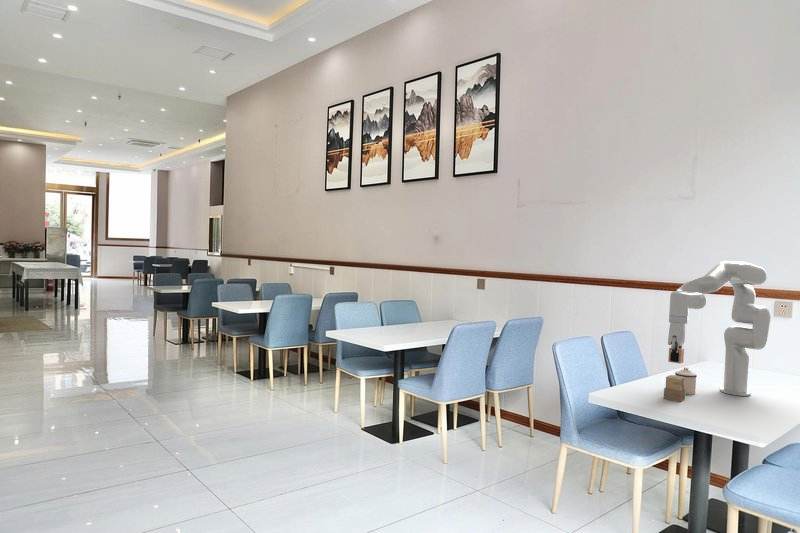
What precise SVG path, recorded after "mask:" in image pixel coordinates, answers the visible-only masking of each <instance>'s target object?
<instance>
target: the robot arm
mask: <svg viewBox="0 0 800 533" xmlns="http://www.w3.org/2000/svg"><path fill="white" fill-rule="evenodd" d="M767 278H768V274H767V271H766V270H765V269H764V267H761V266H760V265H759V266H758V265H755V264H752V263H750V262H746V261H739V260H738V261H737V260H736V261H735V260H734V261H732V260H731V261H730V260H729V261H728V260H723V261H720V262H719V263H718V264H716V265H715V266H714V267H713V268H712V269H710V270H709V271H708V272H706V274H705V275H703V276H701V277H697V278H695V279H692V280H690V281H688V282H686V283H683V284H681V286H680V287H678V288H677V289H676V290H675V291H672V292H671V293H670V296H669V297H670V298H669V314H668V323H669V328H668V338H667V345H668V346H670V348H671V356H670V361H673V362H678V361H679V353H678V350H679V348H682V349H683V346H684V344H685V341H686V325H688V324H689V309H690V310H691V309H692V310H700V309H701V310H702V309H703V308H705V307H706V305H707V302H708V300H707V297H706V296H705V294H711V293H714V292H717V291H719V290H720V289H721V288H723V286H725V285H726V284H727V283H728V282H729V283H730V284H731V286H732V288H733V289H732V290H733V292H734V298H733V304H732V308H731V320H732V321H733V322H734V323H737V324H740V325H742V324H743V325H748V326H752V327H747V326H740V325H739V326H738V325H732V326H731V325H730V326H728V327H727V328H726V329H725V330H724V332H723V339H724V340H723V341H724V346H725V355H724V356H725V358H724V376H723V386H722V387H720V388H719V391H720V392H721V393H724V394H727V395H732V396H740V397H747V396H751V395H752V393H751V391H750V390H748V378H749V377H748V375H749V364H750V363H749V362H750V356H749V353H748V351H747V349H749V350H757V351H758V350H760V351H761V350H762V349H765V346H766V344H767V341H768V336H769V330H770V323H771V312H770V310H769V308H767V307H766V306H764V305H756V304H755V302H756V291H755V289H754V287H753V286H761V285H763V284H764V283H766V281H767ZM673 362H672V363H673Z"/></svg>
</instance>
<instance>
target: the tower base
mask: <svg viewBox="0 0 800 533" xmlns="http://www.w3.org/2000/svg"><path fill="white" fill-rule="evenodd" d="M663 400H667V401H671V402H677V403H682V402H684V401H685V400H686V394H685V389H683V390H681V391H678V390H673V389H667V388H665V387H664V390H663Z"/></svg>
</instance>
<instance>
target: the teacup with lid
mask: <svg viewBox="0 0 800 533" xmlns="http://www.w3.org/2000/svg"><path fill="white" fill-rule="evenodd" d="M672 375H673V376H679V377H685V380H684V389H685V395H687V394H688V395H690V396H692V395H695V394H696V390H697V389H696V385H697V373H695V372H692V371H691V370H690V369H689V367H683V368H682V369H680V370H676V371H675V372H674V374H672Z"/></svg>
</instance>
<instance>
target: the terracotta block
mask: <svg viewBox="0 0 800 533" xmlns="http://www.w3.org/2000/svg"><path fill="white" fill-rule="evenodd" d="M678 353H679V361H678V362H673V361H670V356H671V347H669V348H668V360H667V361H668V362H669V363H675V364H680V365H681V364H683V363H684V359H685V348H683V347H682V348H679V350H678Z"/></svg>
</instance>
